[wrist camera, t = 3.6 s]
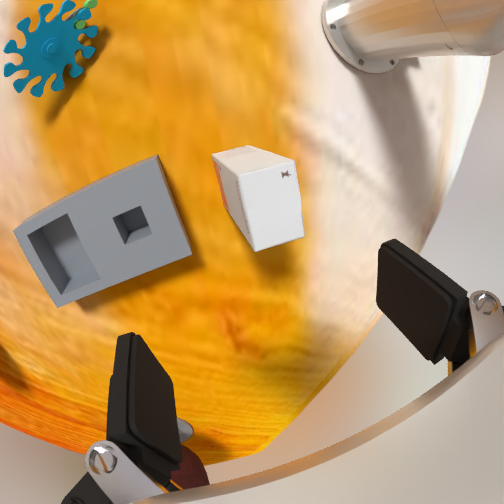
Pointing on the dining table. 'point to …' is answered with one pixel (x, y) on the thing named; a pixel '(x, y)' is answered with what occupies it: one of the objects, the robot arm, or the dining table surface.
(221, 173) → the skincare box
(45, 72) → the gear
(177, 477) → the mate gourd
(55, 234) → the stand
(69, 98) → the dining table surface
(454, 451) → the robot arm
